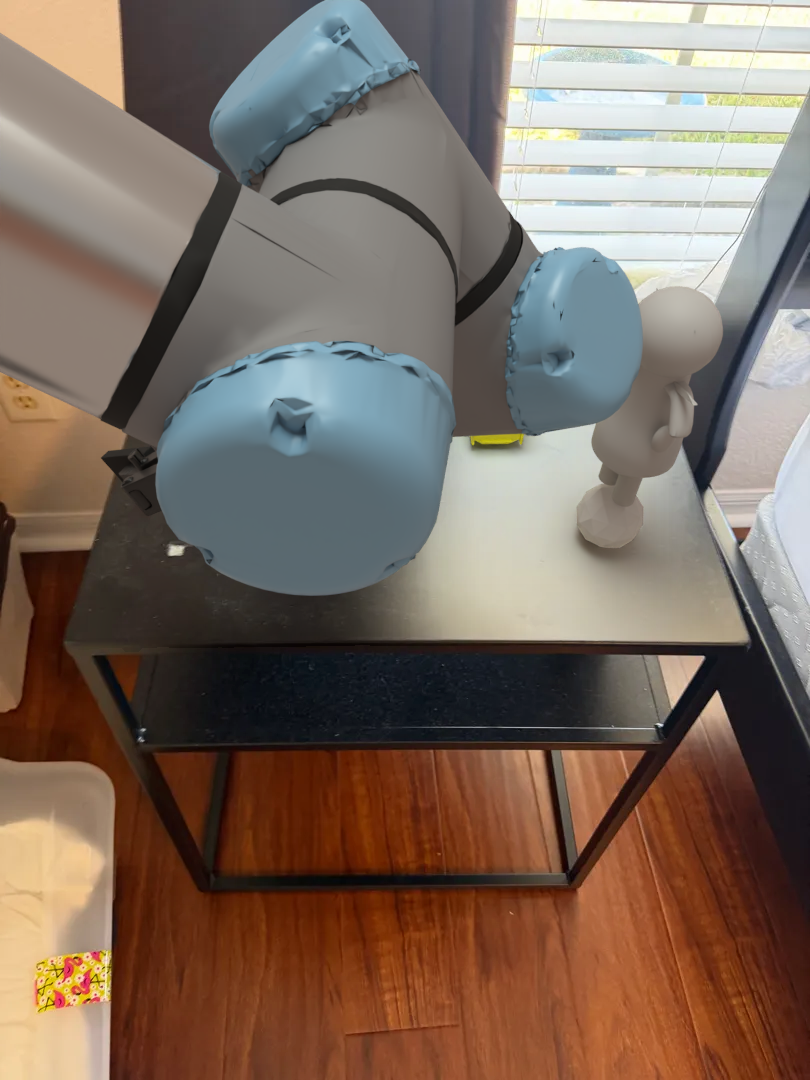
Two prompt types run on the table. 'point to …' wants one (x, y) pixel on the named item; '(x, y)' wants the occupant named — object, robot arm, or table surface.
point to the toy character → (650, 412)
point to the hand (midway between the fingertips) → (181, 407)
